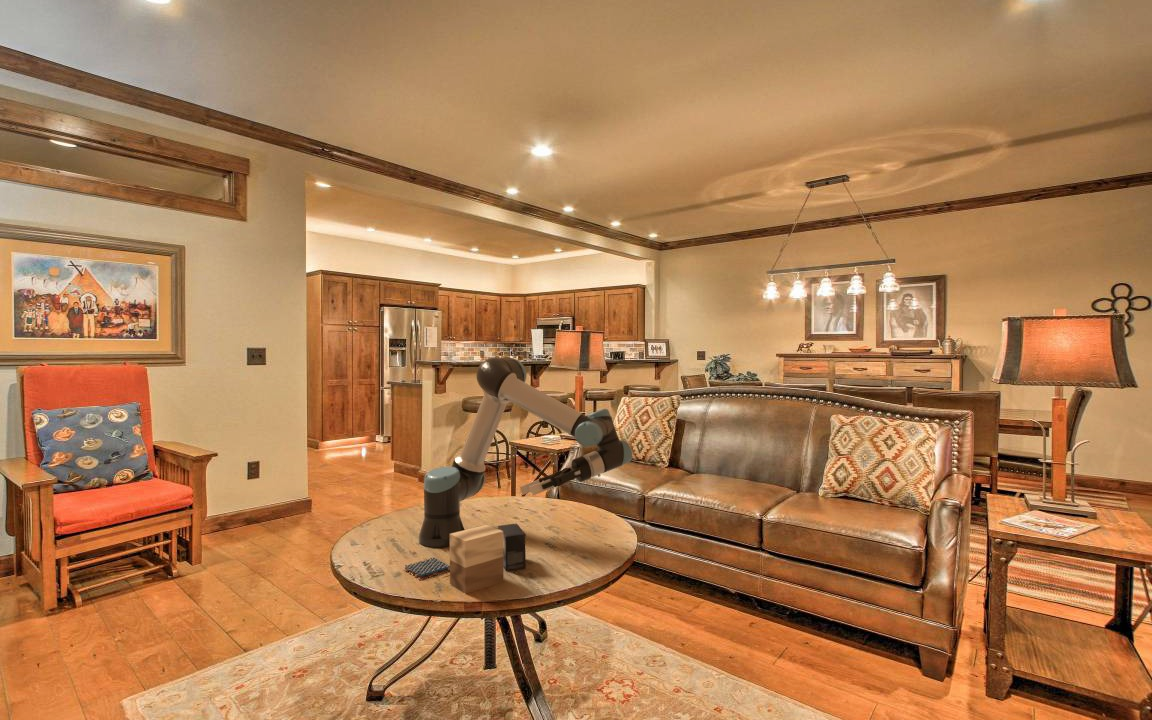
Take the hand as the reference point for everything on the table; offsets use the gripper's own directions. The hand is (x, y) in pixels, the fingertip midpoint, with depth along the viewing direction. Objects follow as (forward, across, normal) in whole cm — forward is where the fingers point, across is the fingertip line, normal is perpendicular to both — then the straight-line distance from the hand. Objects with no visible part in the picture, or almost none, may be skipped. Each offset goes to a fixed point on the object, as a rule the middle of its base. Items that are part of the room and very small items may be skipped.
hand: (525, 491), depth 171 cm
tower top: (+21, -10, -11) cm, 26 cm away
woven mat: (+34, +4, -12) cm, 36 cm away
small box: (+11, +2, -19) cm, 22 cm away
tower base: (+23, -9, -18) cm, 30 cm away
